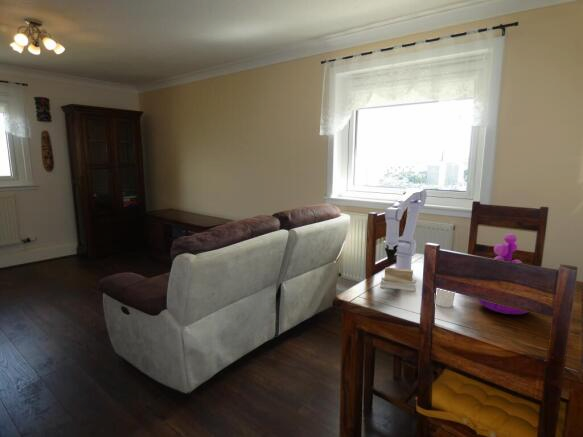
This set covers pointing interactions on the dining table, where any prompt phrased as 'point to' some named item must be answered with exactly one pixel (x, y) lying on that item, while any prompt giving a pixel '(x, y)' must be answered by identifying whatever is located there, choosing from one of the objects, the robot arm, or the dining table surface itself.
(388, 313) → the dining table surface
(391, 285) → the track board
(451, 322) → the dining table surface
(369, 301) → the dining table surface
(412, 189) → the robot arm
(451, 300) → the white cup
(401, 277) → the tan rectangular block
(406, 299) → the dining table surface
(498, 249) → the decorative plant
